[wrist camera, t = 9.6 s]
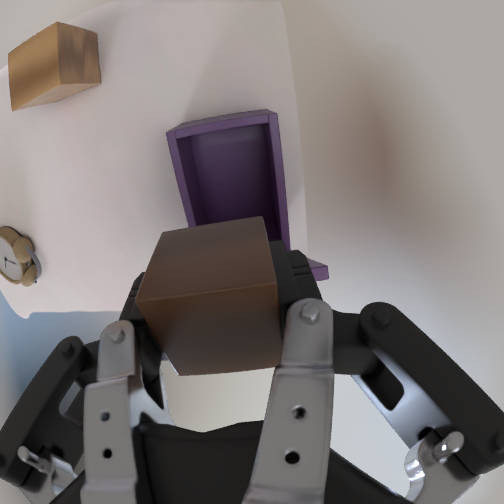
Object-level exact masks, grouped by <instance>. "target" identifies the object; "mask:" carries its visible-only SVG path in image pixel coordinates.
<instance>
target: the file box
mask: <svg viewBox="0 0 504 504" xmlns="http://www.w3.org/2000/svg"><path fill="white" fill-rule="evenodd" d="M166 136H167V140H168V145H169V149H170V154H171V158H172V162H173V167H174V171H175V175H176V179H177V183H178V187H179V191H180V195H181V199H182V203H183V207H184V211H185V214H186V218H187V222H188V226H189V227H195V226H201V225H207V224H213V223H219V222H225V221H231V220H238V219H244V218H251V217H257V216H262V217H263V220H264V224H265V229H266V233H267V238H268V242H269V241H275V240H282V239H283V241H284V244H285V247H286V250H287V251H291V249H290V236H289V223H288V211H287V200H286V189H285V179H284V169H283V159H282V150H281V141H280V132H279V124H278V116H277V113H275V112H272V111H270V110H268V109H264V110H256V111H248V112H241V113H234V114H228V115H222V116H216V117H211V118H206V119H201V120H196V121H191V122H186V123H182V124H180V125H178V126H176V127H175V128H173V129H171V130H169V131H168V132H166Z"/></svg>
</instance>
